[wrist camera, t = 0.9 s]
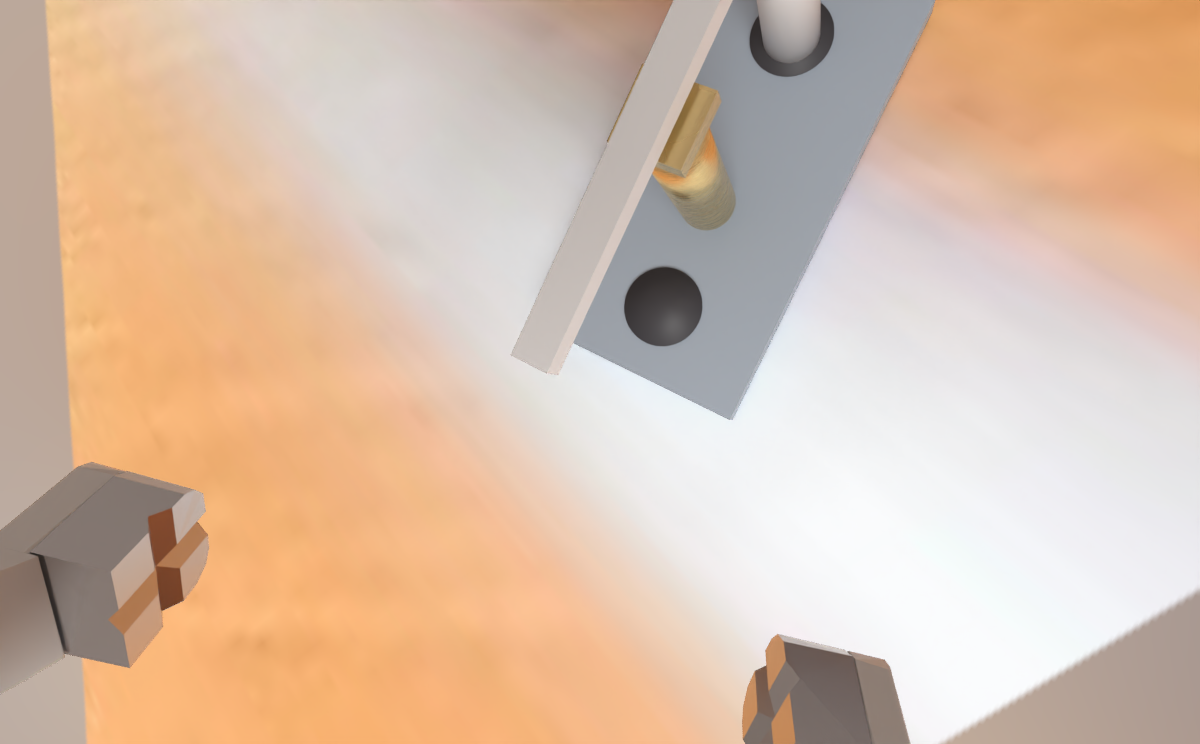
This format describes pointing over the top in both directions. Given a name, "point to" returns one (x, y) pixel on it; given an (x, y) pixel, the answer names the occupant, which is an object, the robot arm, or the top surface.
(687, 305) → the bolt plate
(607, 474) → the top surface
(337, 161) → the top surface
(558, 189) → the top surface
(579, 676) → the top surface
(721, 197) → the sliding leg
